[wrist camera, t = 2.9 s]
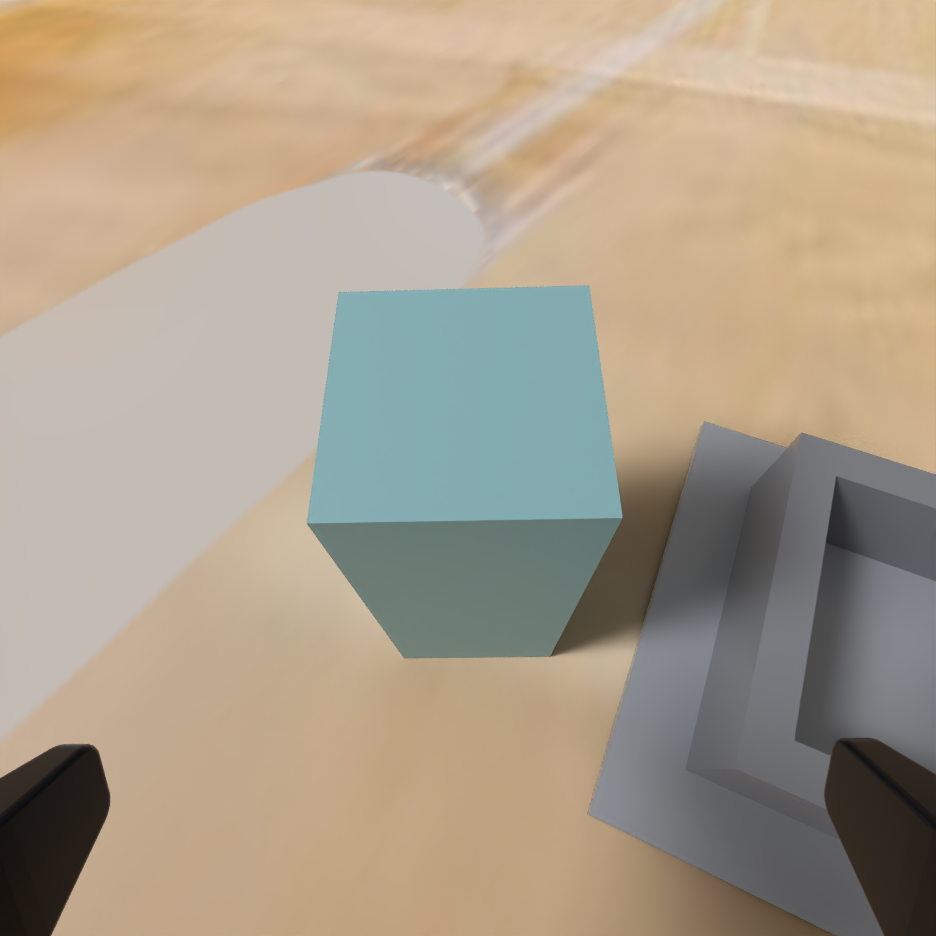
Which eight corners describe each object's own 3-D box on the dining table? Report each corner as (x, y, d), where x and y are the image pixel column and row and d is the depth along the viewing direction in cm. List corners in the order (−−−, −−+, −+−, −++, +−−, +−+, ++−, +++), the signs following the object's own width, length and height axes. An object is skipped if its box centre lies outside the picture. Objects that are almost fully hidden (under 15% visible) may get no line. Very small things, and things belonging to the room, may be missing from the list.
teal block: (549, 656, 20) (622, 518, 9) (404, 657, 20) (306, 523, 9) (540, 521, 22) (589, 285, 11) (410, 523, 22) (338, 292, 11)
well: (1171, 1100, 14) (1429, 1223, 10) (587, 813, 17) (615, 825, 13) (1122, 563, 20) (1271, 513, 17) (700, 426, 24) (742, 358, 20)
